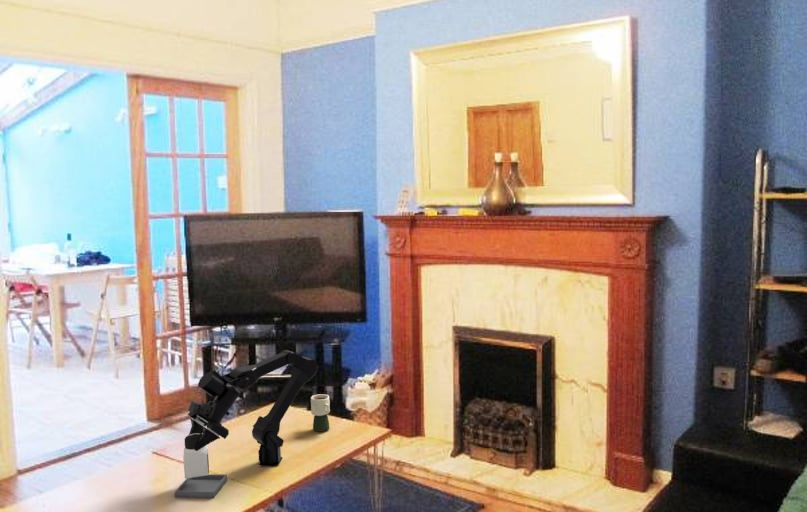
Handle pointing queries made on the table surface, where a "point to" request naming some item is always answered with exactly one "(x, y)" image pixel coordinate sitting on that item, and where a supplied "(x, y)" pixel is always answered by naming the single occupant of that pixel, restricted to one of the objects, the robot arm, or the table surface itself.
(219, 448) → the table surface
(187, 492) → the tray
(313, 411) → the character mug
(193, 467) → the medicine bottle
